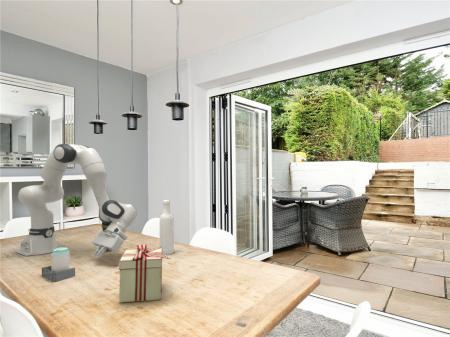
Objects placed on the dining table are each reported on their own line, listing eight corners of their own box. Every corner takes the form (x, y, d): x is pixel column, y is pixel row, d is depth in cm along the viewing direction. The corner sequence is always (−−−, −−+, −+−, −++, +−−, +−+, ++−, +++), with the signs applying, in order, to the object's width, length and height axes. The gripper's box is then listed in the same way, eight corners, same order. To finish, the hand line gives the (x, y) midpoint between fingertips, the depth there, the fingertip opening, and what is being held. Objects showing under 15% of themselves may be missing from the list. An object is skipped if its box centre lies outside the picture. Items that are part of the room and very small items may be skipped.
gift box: (172, 298, 102) (172, 251, 102) (118, 305, 97) (118, 255, 97) (168, 280, 118) (168, 240, 119) (121, 286, 113) (121, 243, 113)
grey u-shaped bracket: (63, 270, 132) (63, 262, 132) (75, 275, 125) (75, 268, 125) (41, 275, 125) (41, 267, 125) (53, 282, 117) (53, 274, 117)
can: (67, 277, 123) (67, 250, 123) (49, 279, 121) (49, 251, 121) (71, 272, 129) (71, 246, 130) (54, 273, 128) (54, 247, 128)
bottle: (170, 255, 154) (170, 201, 154) (157, 254, 155) (157, 200, 156) (175, 251, 162) (175, 199, 162) (163, 250, 163) (163, 199, 163)
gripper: (100, 226, 151) (82, 248, 143) (121, 230, 139) (102, 255, 131) (108, 232, 155) (90, 254, 147) (129, 238, 142) (111, 262, 134)
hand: (96, 255), depth 139 cm, fingers closed
